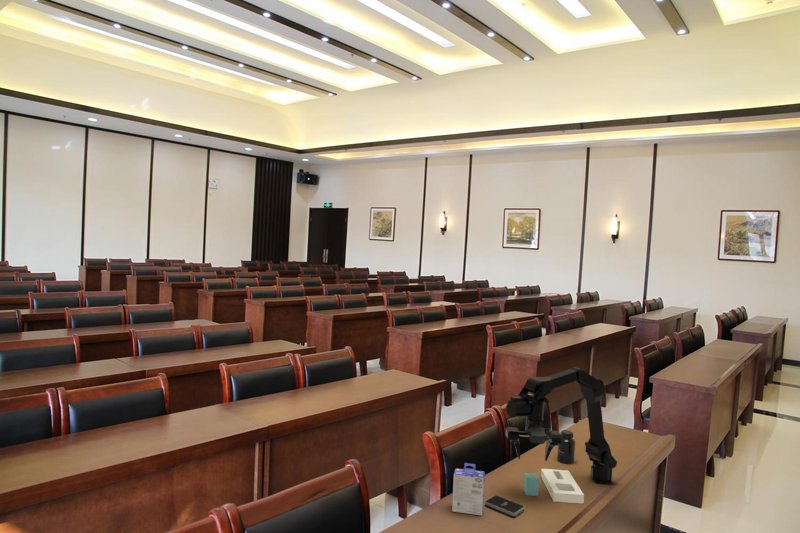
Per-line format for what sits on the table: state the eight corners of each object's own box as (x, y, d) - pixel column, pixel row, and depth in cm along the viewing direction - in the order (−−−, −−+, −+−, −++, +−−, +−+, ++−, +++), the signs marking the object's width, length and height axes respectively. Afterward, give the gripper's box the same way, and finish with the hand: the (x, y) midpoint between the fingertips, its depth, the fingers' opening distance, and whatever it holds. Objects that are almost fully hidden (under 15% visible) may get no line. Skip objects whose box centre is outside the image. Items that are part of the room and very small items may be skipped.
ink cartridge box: (483, 508, 166) (485, 464, 165) (482, 516, 160) (485, 470, 160) (453, 504, 168) (455, 460, 167) (451, 512, 162) (453, 466, 162)
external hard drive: (513, 519, 160) (514, 513, 160) (483, 507, 167) (484, 501, 167) (524, 512, 165) (524, 506, 165) (494, 500, 172) (495, 494, 172)
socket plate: (568, 478, 192) (568, 470, 192) (583, 503, 172) (584, 494, 172) (541, 476, 192) (541, 468, 192) (553, 501, 172) (553, 492, 172)
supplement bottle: (556, 462, 207) (557, 432, 207) (557, 456, 213) (558, 428, 213) (573, 465, 204) (575, 435, 204) (574, 459, 211) (576, 430, 211)
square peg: (535, 490, 180) (536, 473, 180) (538, 496, 176) (539, 478, 176) (523, 489, 181) (524, 472, 181) (525, 495, 176) (526, 478, 176)
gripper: (511, 420, 171) (508, 466, 171) (567, 424, 169) (565, 471, 170) (506, 410, 182) (504, 454, 182) (559, 414, 181) (557, 458, 181)
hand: (532, 459), depth 178 cm, fingers open, 9 cm apart
